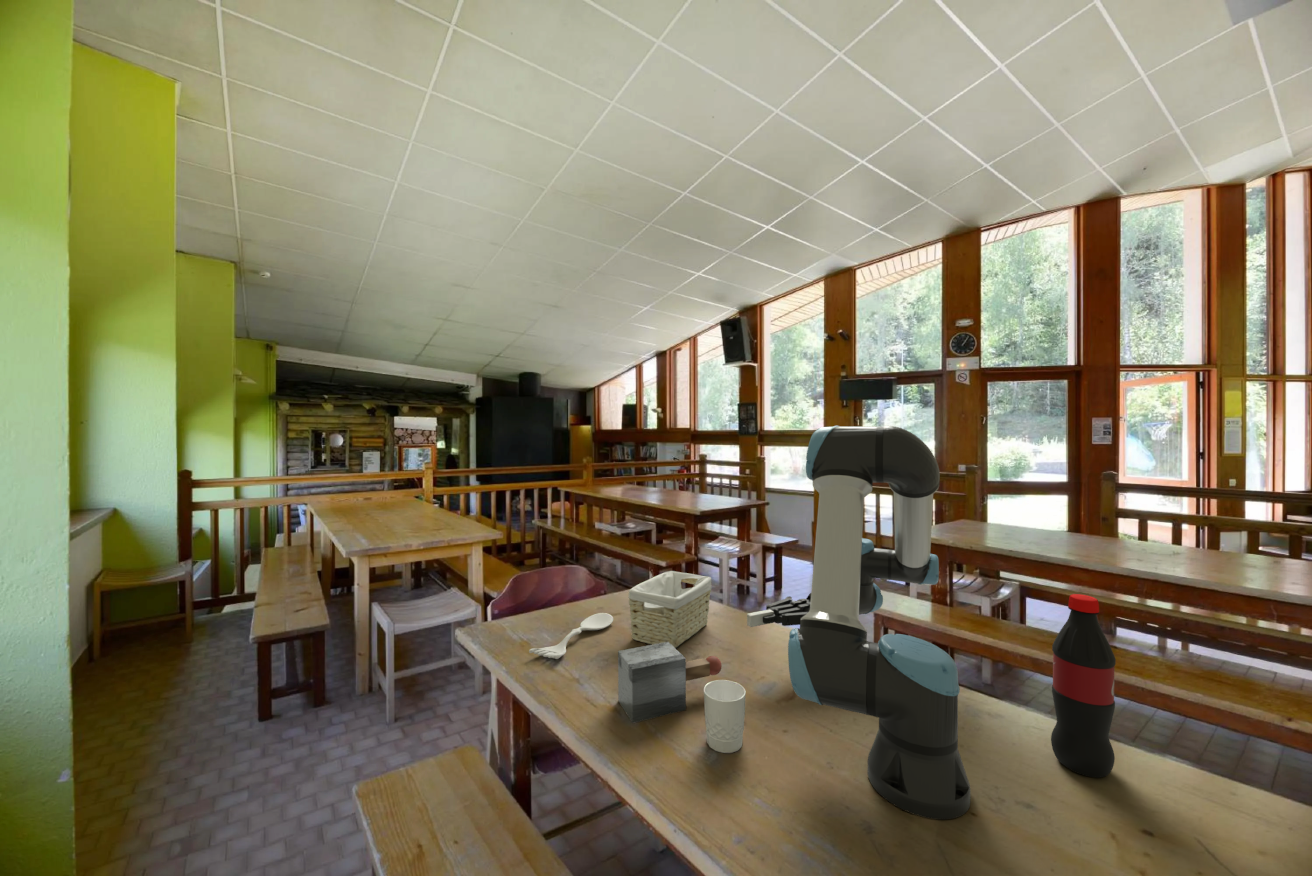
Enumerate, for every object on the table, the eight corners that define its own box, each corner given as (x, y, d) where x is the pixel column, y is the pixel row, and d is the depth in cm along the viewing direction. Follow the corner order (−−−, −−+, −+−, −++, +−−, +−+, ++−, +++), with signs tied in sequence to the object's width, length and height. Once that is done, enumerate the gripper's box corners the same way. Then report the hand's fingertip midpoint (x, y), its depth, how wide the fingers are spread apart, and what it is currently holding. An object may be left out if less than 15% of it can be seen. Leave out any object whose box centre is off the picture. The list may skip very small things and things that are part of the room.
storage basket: (668, 614, 160) (667, 568, 160) (714, 624, 152) (714, 576, 152) (625, 641, 140) (625, 589, 140) (676, 655, 132) (676, 599, 131)
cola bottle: (1114, 765, 88) (1116, 595, 87) (1114, 790, 82) (1116, 608, 81) (1053, 744, 94) (1055, 585, 93) (1048, 767, 87) (1050, 596, 87)
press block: (668, 689, 114) (668, 641, 114) (685, 710, 106) (685, 658, 105) (618, 700, 109) (618, 651, 109) (632, 723, 101) (632, 669, 101)
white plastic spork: (527, 662, 128) (527, 648, 128) (593, 618, 157) (593, 607, 157) (556, 668, 125) (556, 655, 124) (618, 623, 154) (618, 612, 154)
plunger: (716, 668, 116) (716, 651, 116) (724, 676, 112) (724, 659, 112) (662, 680, 110) (662, 662, 110) (670, 689, 107) (670, 670, 107)
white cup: (745, 758, 90) (745, 703, 90) (701, 752, 92) (701, 699, 91) (746, 732, 98) (746, 681, 98) (705, 727, 99) (705, 677, 99)
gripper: (847, 629, 120) (765, 647, 111) (810, 610, 132) (734, 625, 123) (847, 598, 120) (765, 614, 111) (810, 582, 132) (733, 595, 123)
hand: (748, 620), depth 117 cm, fingers closed
